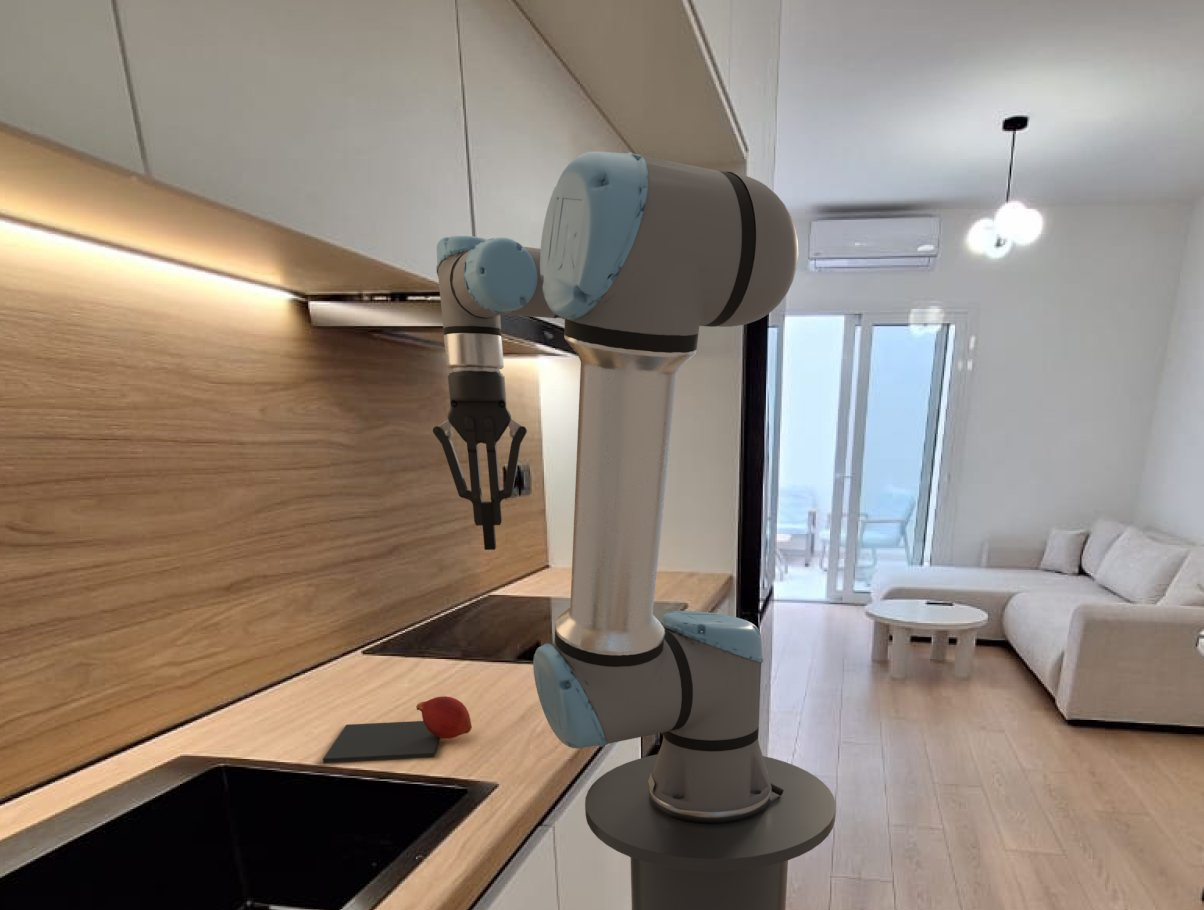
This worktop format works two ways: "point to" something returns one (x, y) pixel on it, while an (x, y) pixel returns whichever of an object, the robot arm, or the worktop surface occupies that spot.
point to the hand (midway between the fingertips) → (490, 548)
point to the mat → (383, 742)
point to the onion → (445, 717)
